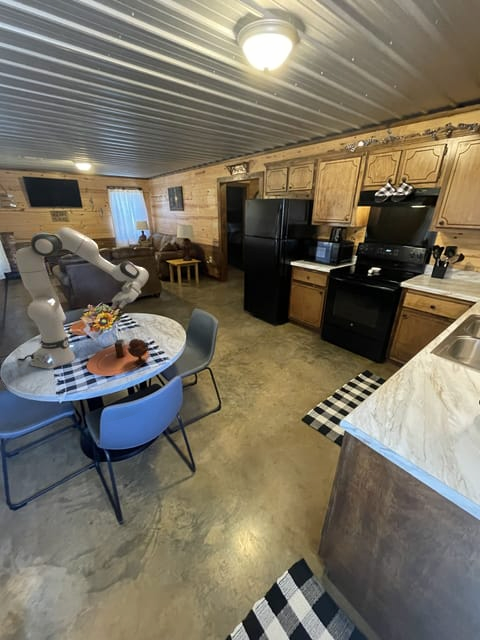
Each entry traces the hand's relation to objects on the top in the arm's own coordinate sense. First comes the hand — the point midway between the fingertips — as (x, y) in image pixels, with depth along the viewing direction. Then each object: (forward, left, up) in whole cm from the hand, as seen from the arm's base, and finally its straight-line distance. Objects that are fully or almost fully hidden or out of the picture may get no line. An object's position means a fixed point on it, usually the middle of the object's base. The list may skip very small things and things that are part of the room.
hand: (116, 307), depth 149 cm
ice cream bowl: (+14, -9, -30) cm, 34 cm away
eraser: (-1, -2, -30) cm, 30 cm away
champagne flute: (-53, +19, -30) cm, 64 cm away
